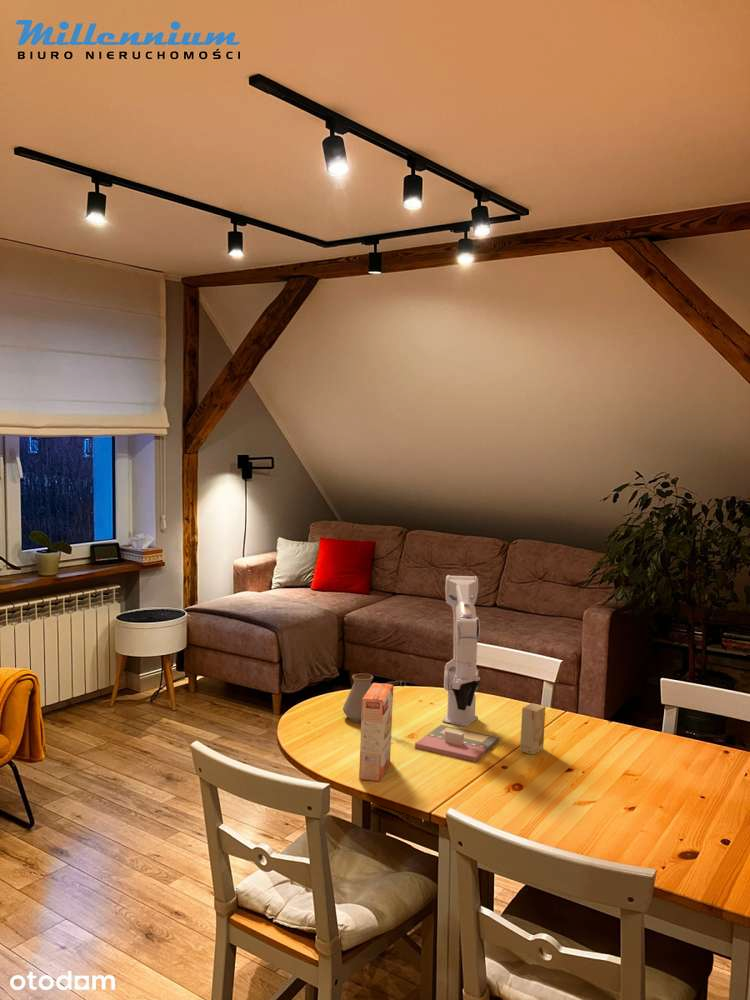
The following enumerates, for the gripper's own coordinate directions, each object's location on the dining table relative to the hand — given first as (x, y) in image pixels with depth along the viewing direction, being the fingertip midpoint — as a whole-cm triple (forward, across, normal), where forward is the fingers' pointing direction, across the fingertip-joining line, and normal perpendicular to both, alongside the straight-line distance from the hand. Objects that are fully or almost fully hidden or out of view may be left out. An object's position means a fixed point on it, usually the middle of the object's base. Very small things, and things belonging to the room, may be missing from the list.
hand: (464, 707), depth 231 cm
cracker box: (+10, -32, +11) cm, 35 cm away
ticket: (+9, 0, 0) cm, 9 cm away
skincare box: (+10, +4, -19) cm, 22 cm away
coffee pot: (+10, -2, +28) cm, 30 cm away
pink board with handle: (+9, -9, 0) cm, 13 cm away
